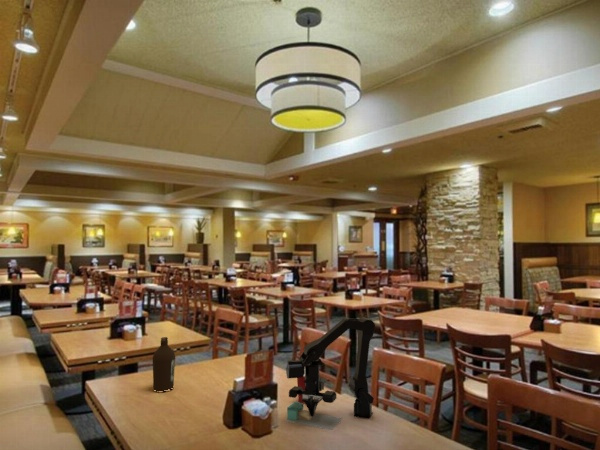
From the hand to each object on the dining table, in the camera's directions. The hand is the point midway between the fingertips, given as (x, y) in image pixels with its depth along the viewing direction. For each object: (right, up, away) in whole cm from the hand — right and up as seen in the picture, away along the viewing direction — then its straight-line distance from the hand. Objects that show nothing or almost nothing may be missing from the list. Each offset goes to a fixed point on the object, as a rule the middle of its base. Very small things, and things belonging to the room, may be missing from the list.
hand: (312, 416), depth 168 cm
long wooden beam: (-5, -2, +2) cm, 6 cm away
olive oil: (-72, -4, +37) cm, 81 cm away
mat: (0, -2, 0) cm, 2 cm away
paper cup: (-3, -3, +20) cm, 20 cm away
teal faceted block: (-7, -2, +3) cm, 8 cm away
